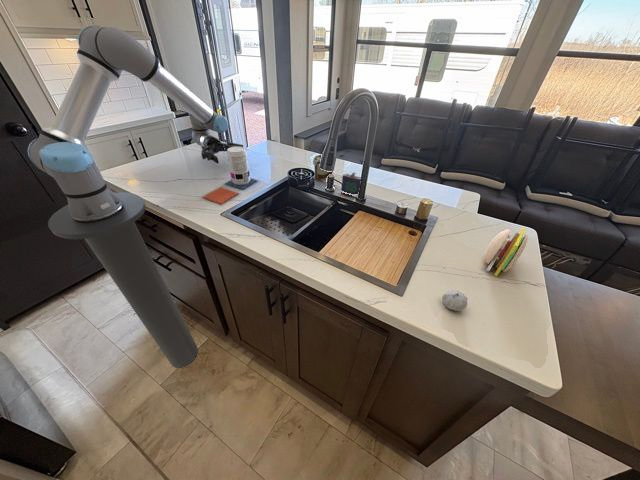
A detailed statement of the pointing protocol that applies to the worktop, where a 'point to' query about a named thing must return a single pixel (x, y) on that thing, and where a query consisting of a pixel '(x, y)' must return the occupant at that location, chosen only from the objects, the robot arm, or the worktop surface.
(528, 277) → the worktop surface
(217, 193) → the terracotta pad
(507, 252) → the hamburger
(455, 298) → the garlic
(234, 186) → the slate pad
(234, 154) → the supplement can
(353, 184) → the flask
